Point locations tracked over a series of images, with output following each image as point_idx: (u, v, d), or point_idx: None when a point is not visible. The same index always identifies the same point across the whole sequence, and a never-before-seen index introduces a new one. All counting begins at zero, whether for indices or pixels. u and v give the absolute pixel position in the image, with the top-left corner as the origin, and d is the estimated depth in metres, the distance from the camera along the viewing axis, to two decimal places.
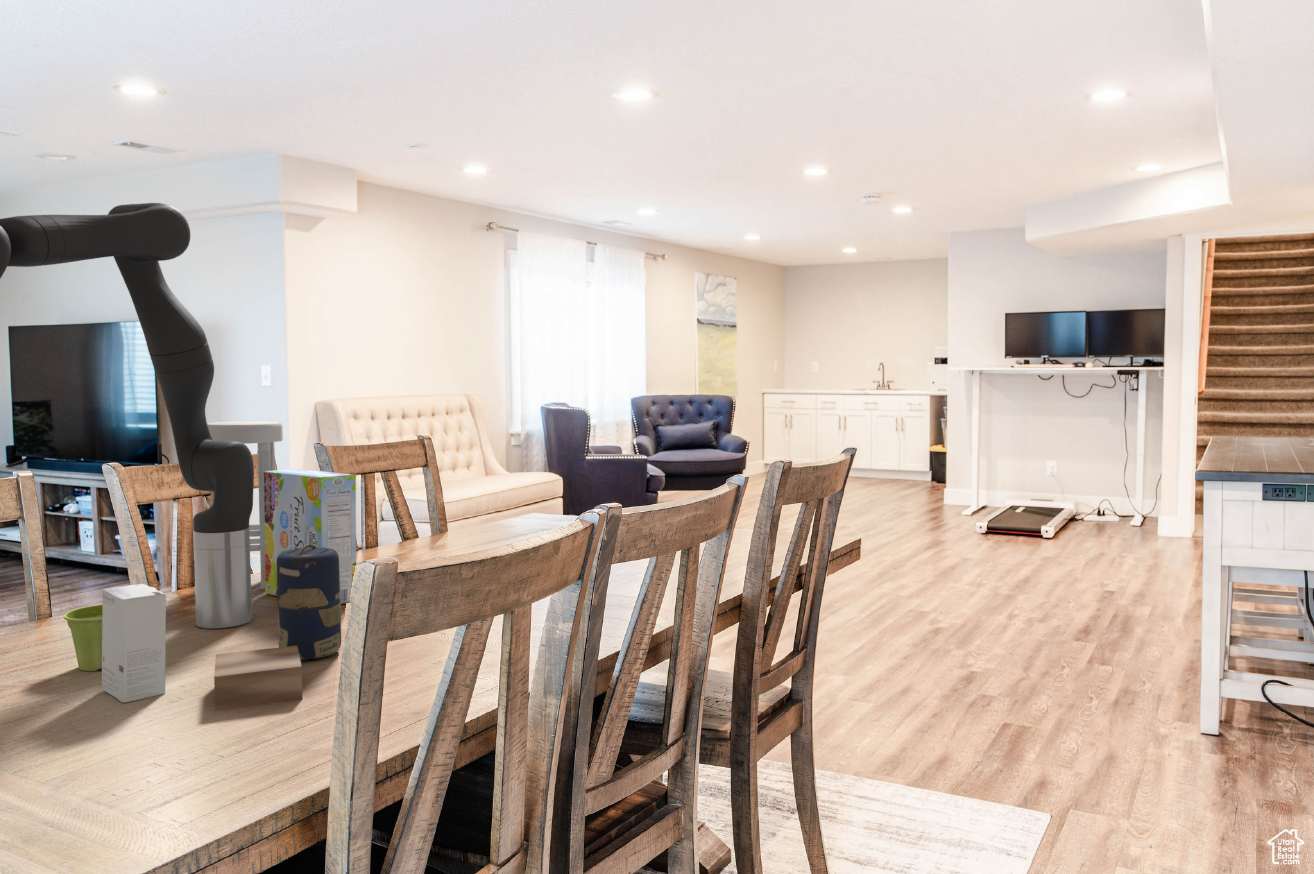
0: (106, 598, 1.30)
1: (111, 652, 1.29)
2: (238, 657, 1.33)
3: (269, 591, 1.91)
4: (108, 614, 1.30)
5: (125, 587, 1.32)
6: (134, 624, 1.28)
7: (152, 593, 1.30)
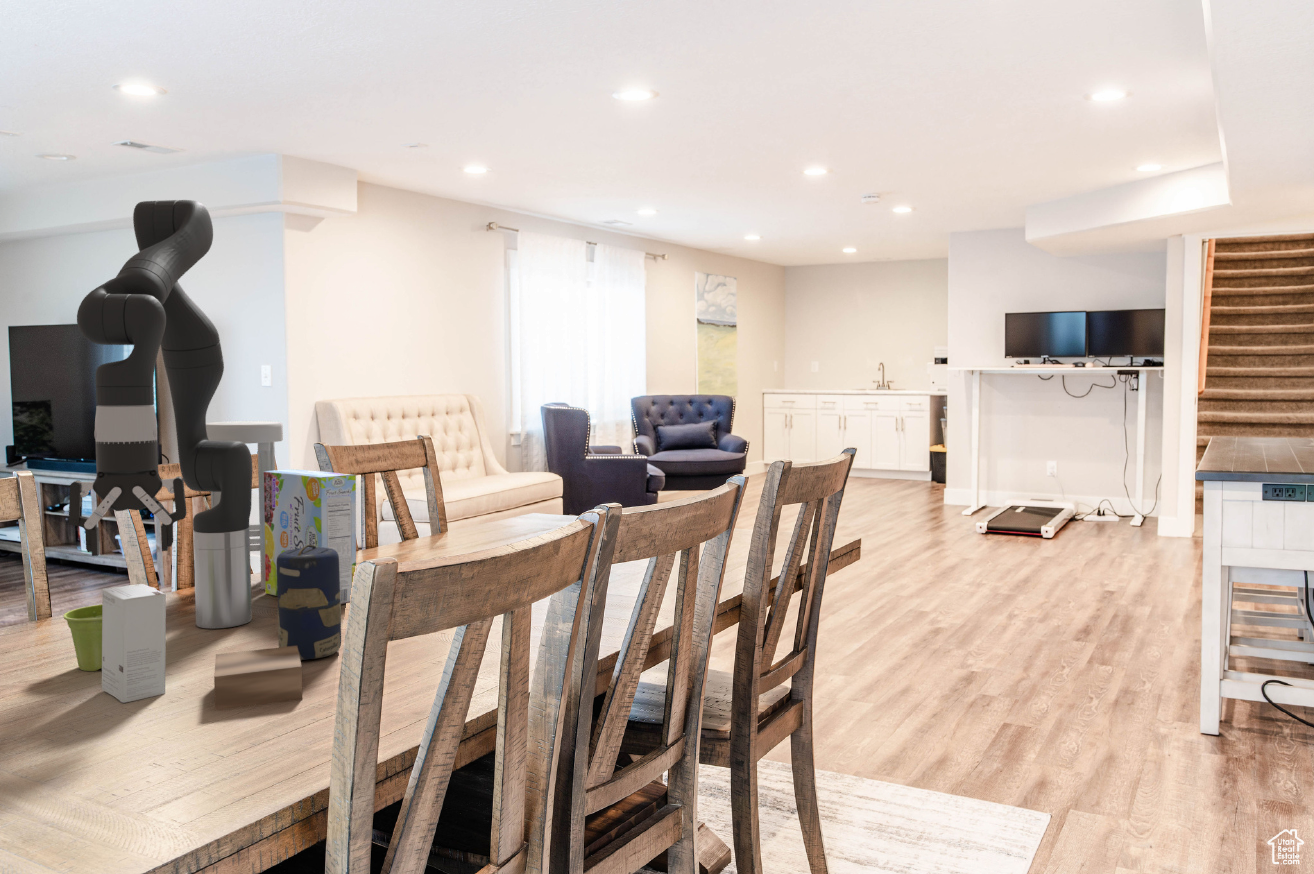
0: (106, 598, 1.30)
1: (111, 652, 1.29)
2: (238, 657, 1.33)
3: (269, 591, 1.91)
4: (108, 614, 1.30)
5: (125, 587, 1.32)
6: (134, 624, 1.28)
7: (152, 593, 1.30)
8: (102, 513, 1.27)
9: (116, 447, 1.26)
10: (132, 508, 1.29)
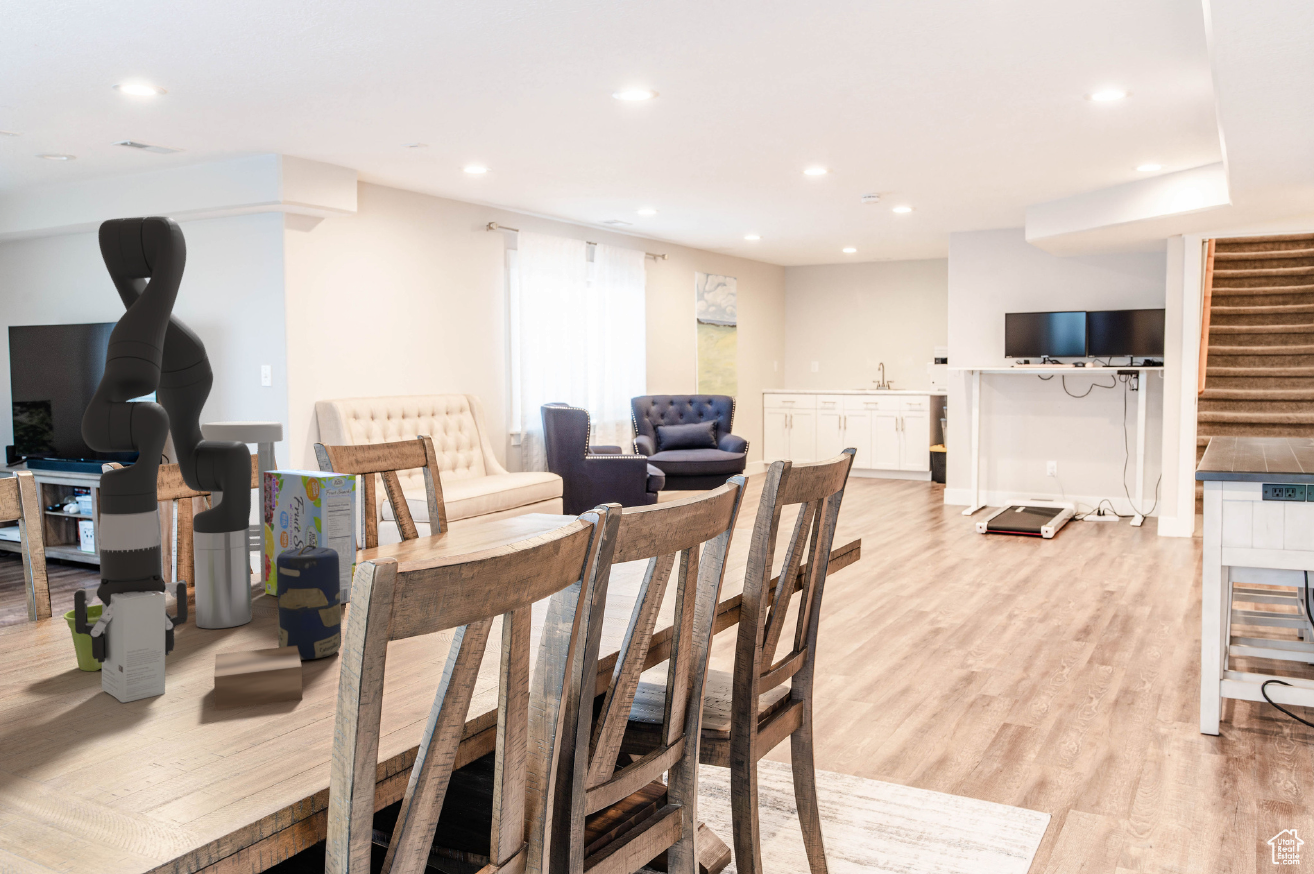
0: None
1: (111, 652, 1.30)
2: (238, 657, 1.33)
3: (269, 591, 1.91)
4: None
5: None
6: (134, 624, 1.28)
7: (152, 593, 1.30)
8: (107, 620, 1.28)
9: (120, 555, 1.27)
10: None
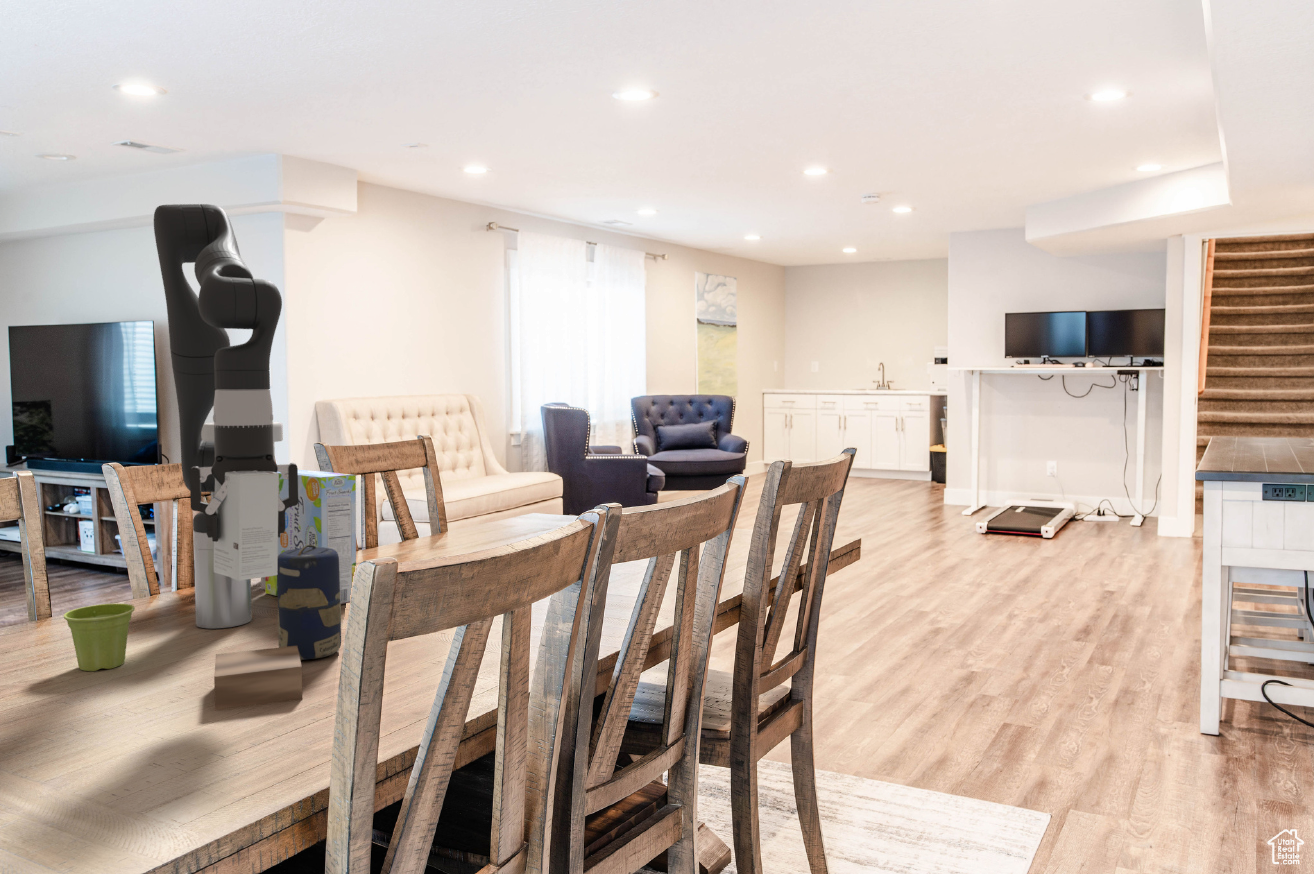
0: None
1: (225, 531, 1.28)
2: (238, 657, 1.33)
3: (269, 591, 1.91)
4: None
5: None
6: (249, 501, 1.26)
7: (265, 472, 1.29)
8: (222, 498, 1.27)
9: (236, 431, 1.26)
10: None
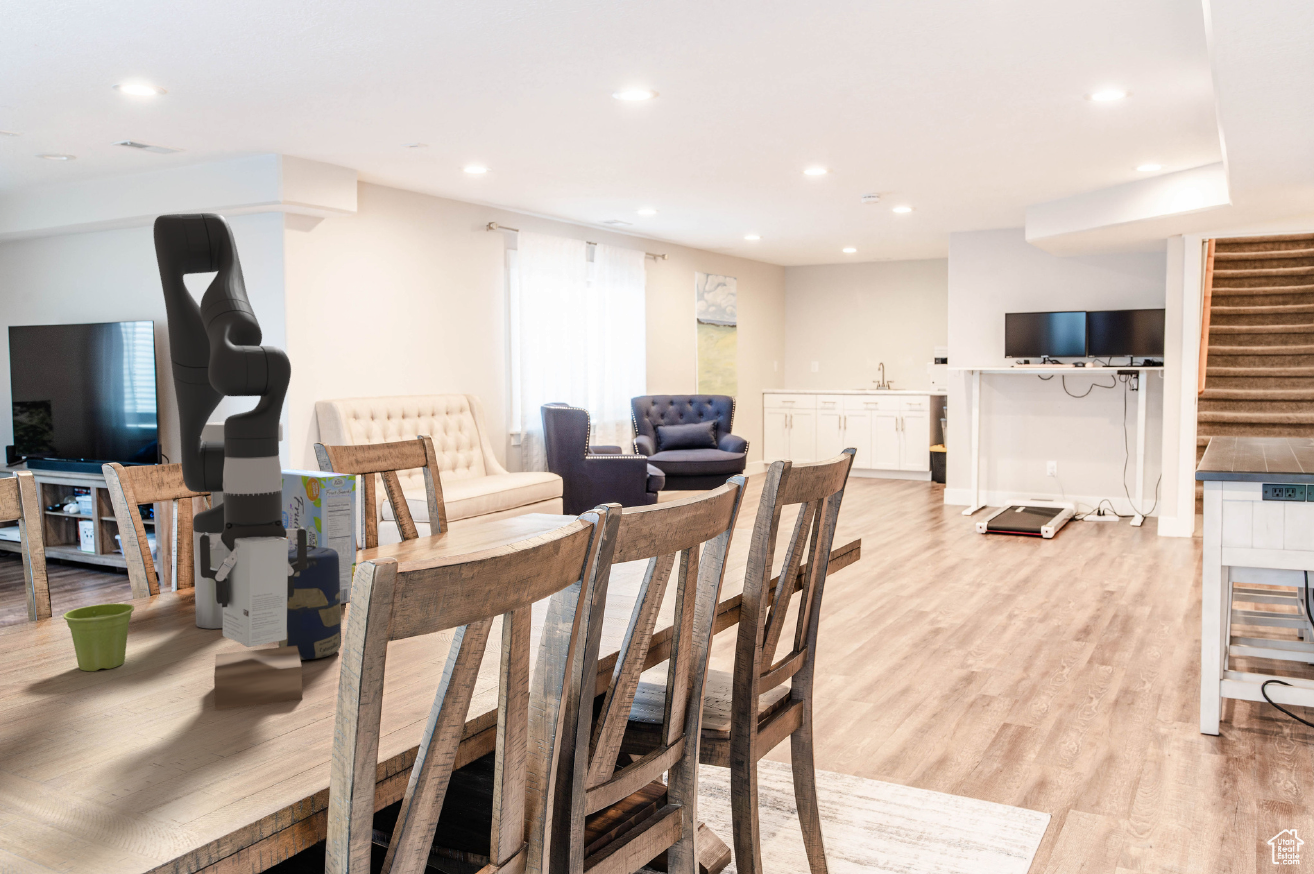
0: None
1: (234, 596, 1.29)
2: (238, 657, 1.33)
3: None
4: None
5: None
6: (259, 568, 1.27)
7: (275, 538, 1.30)
8: (232, 564, 1.28)
9: (246, 499, 1.27)
10: None
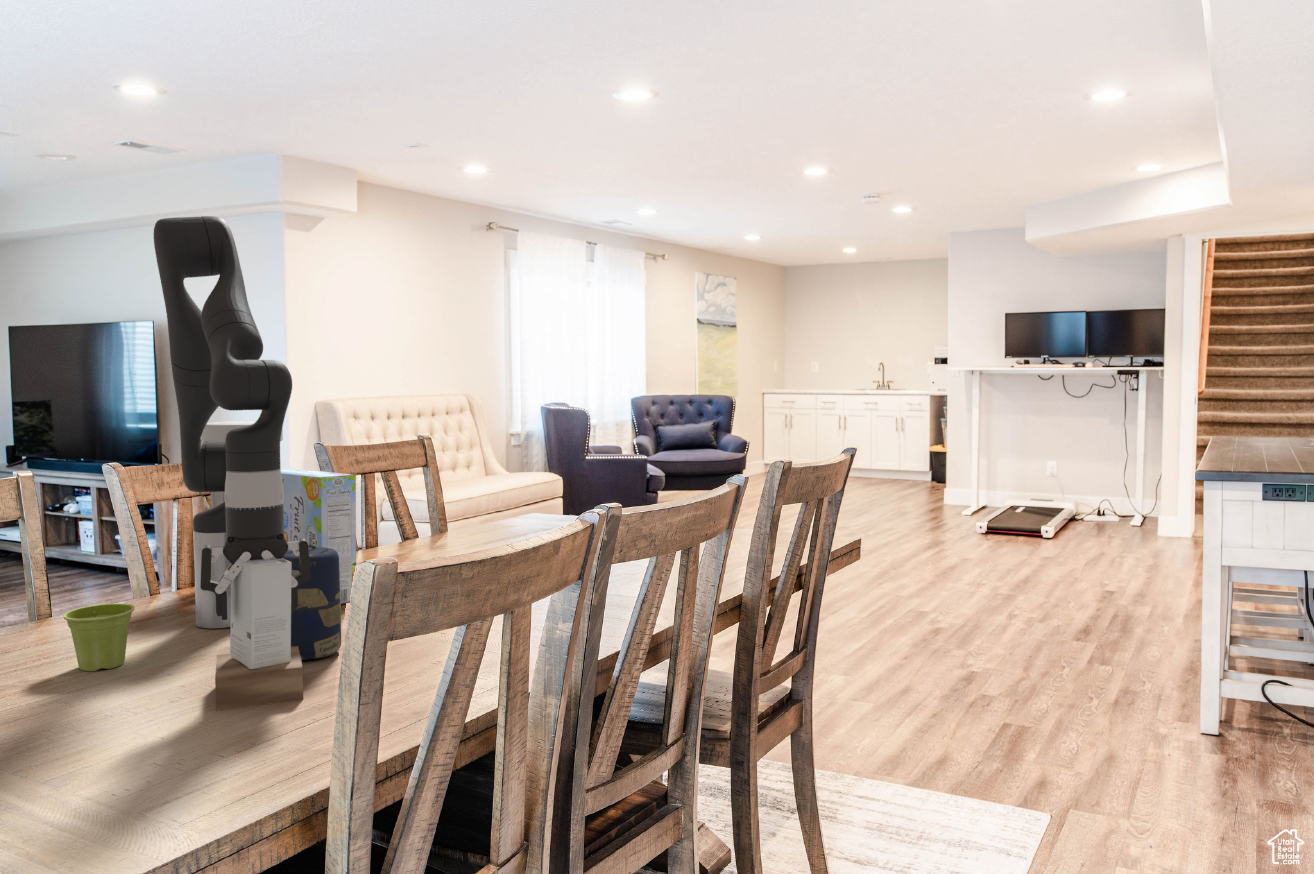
0: None
1: (239, 618, 1.30)
2: None
3: None
4: (236, 580, 1.30)
5: None
6: (261, 591, 1.28)
7: (278, 561, 1.30)
8: (232, 578, 1.28)
9: (248, 513, 1.27)
10: None
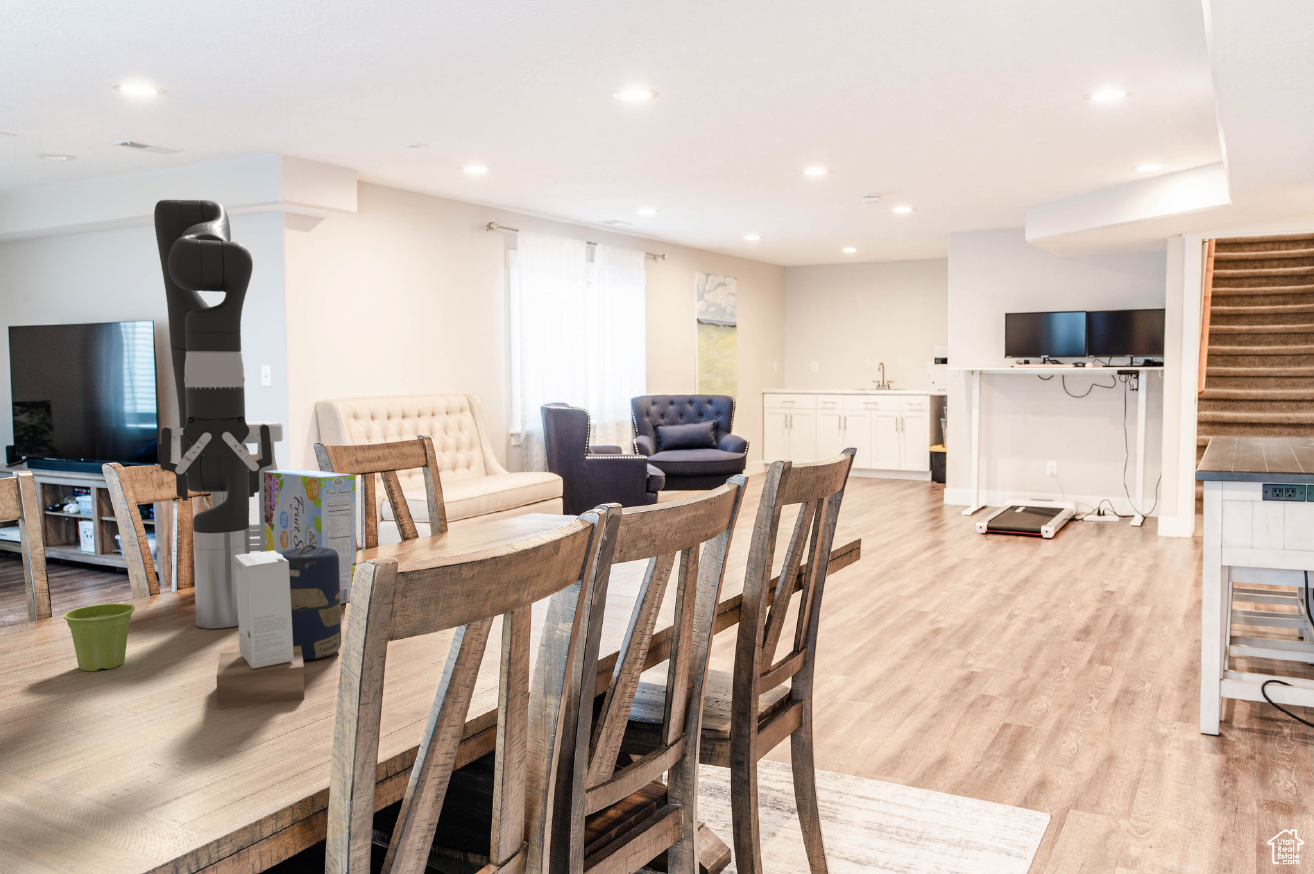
0: (237, 564, 1.31)
1: (242, 617, 1.30)
2: (242, 657, 1.33)
3: None
4: (238, 580, 1.30)
5: (255, 554, 1.33)
6: (258, 591, 1.27)
7: (276, 560, 1.29)
8: (193, 458, 1.28)
9: (208, 392, 1.27)
10: (221, 454, 1.31)
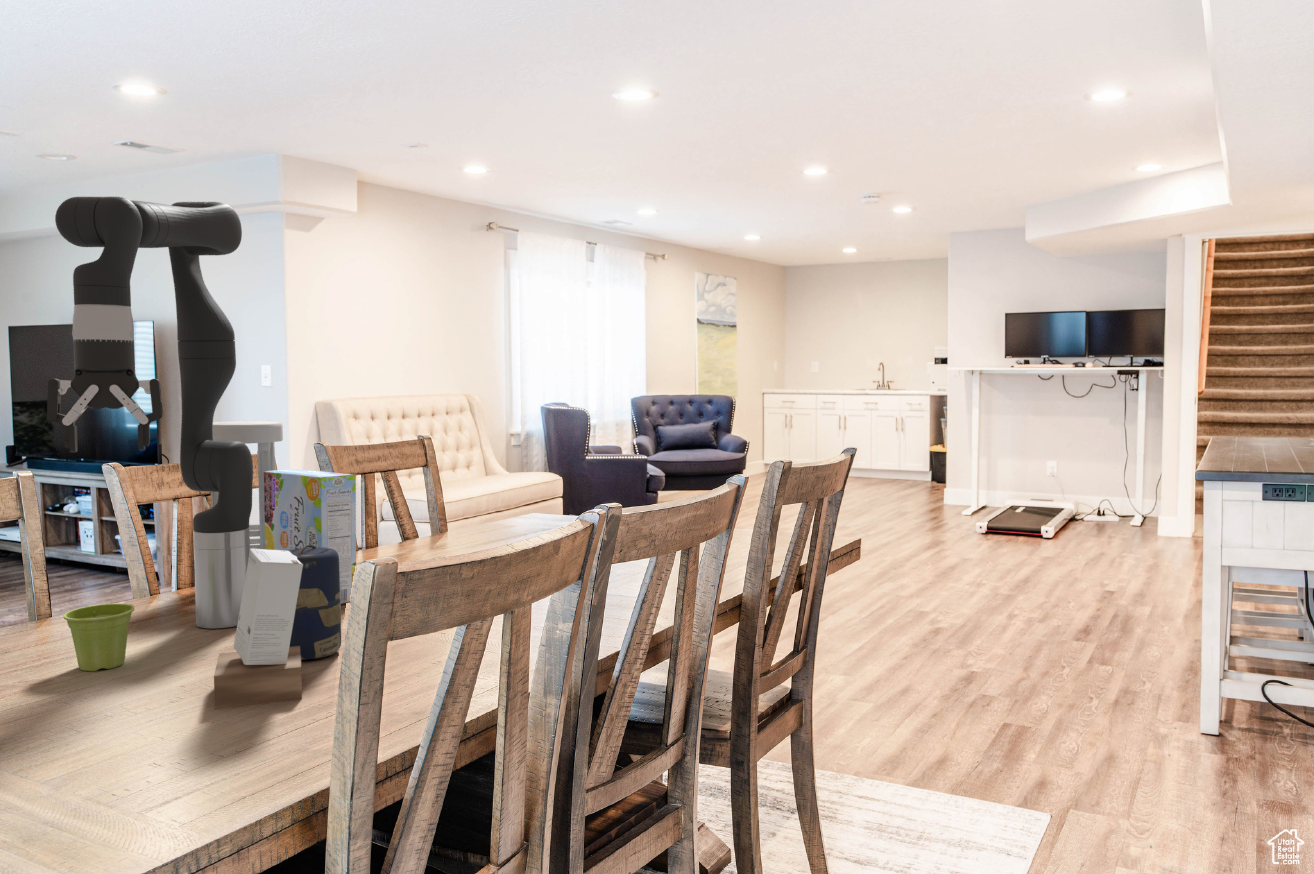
0: (250, 558, 1.31)
1: (245, 612, 1.30)
2: None
3: None
4: (249, 574, 1.31)
5: (270, 551, 1.33)
6: (267, 589, 1.27)
7: (290, 561, 1.30)
8: (80, 410, 1.31)
9: (93, 344, 1.29)
10: (109, 407, 1.33)
